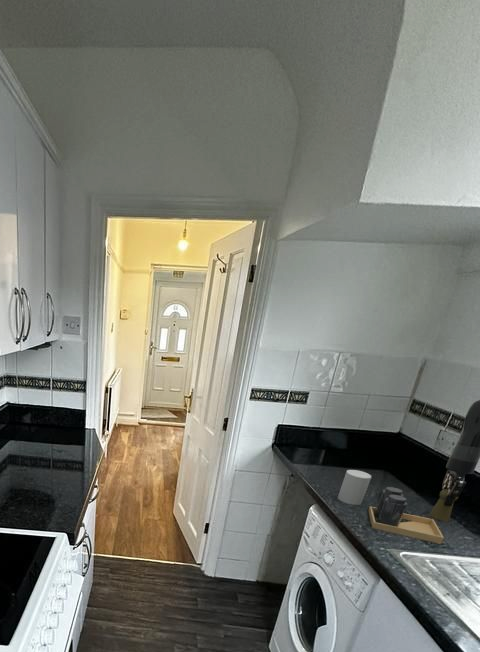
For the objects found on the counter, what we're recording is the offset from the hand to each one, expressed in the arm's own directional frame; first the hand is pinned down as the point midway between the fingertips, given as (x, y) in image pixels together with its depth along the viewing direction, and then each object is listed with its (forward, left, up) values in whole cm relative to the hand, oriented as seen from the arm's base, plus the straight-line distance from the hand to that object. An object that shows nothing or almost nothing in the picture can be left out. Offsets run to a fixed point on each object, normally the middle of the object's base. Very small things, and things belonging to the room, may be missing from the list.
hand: (445, 502), depth 148 cm
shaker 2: (+19, +21, -6) cm, 29 cm away
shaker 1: (+19, +13, -6) cm, 23 cm away
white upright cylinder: (+29, +3, -7) cm, 30 cm away
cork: (0, 0, -7) cm, 7 cm away
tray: (+14, +17, -6) cm, 23 cm away
